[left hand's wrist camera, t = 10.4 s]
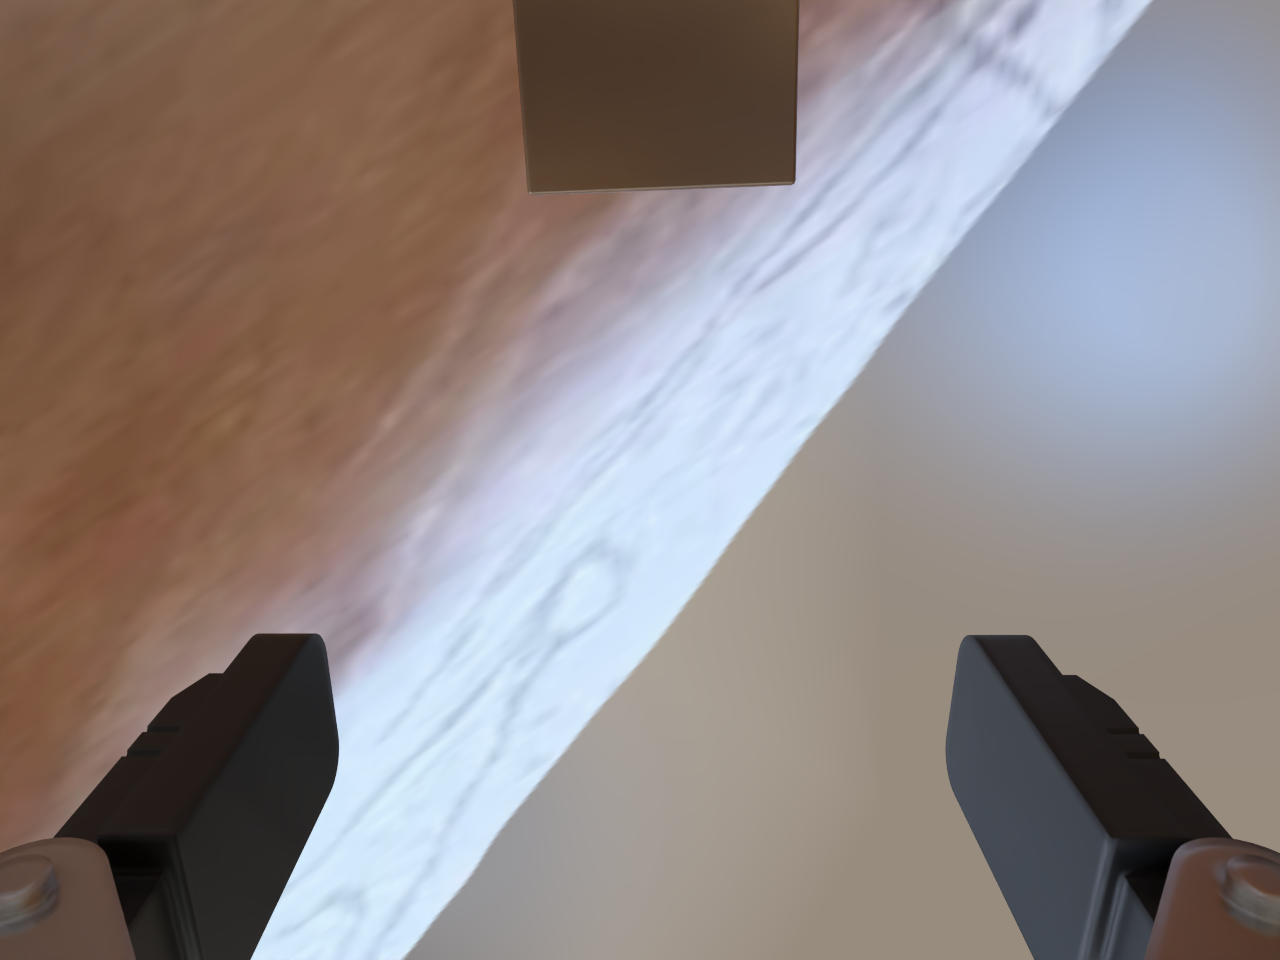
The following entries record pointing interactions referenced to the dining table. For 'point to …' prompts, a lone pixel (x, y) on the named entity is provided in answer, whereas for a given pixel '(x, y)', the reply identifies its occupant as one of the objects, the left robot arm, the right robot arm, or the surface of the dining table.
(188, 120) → the dining table surface
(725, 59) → the bar
